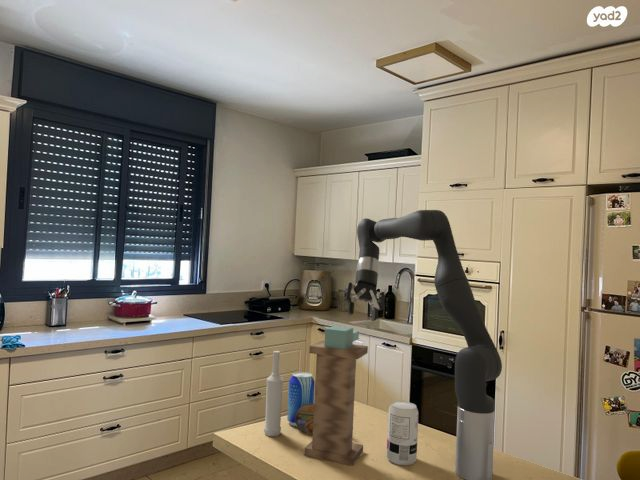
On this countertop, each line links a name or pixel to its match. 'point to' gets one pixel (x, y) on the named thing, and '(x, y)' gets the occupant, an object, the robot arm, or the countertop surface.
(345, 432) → the stand
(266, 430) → the bottle
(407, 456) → the supplement can
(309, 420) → the tin
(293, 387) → the beer can
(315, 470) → the countertop surface
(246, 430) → the countertop surface
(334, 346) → the mallet
